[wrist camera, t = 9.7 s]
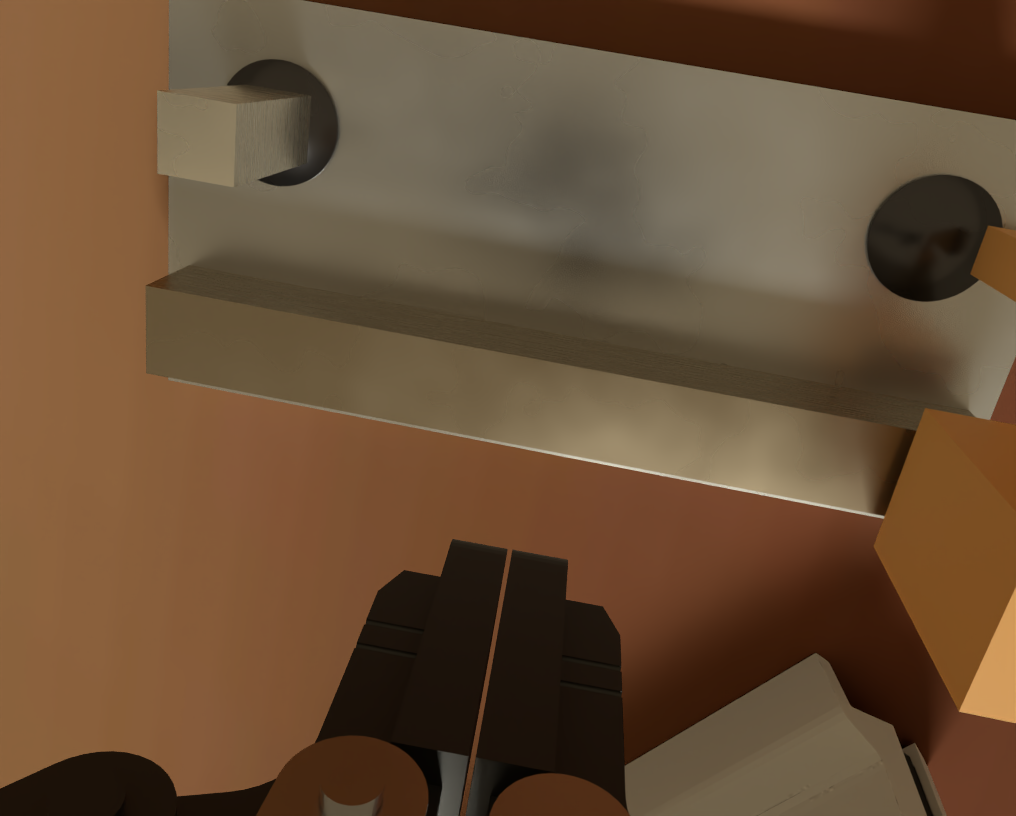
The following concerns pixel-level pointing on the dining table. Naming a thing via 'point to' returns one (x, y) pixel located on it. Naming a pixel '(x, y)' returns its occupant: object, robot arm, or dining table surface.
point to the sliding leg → (962, 535)
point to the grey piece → (575, 248)
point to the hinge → (785, 758)
